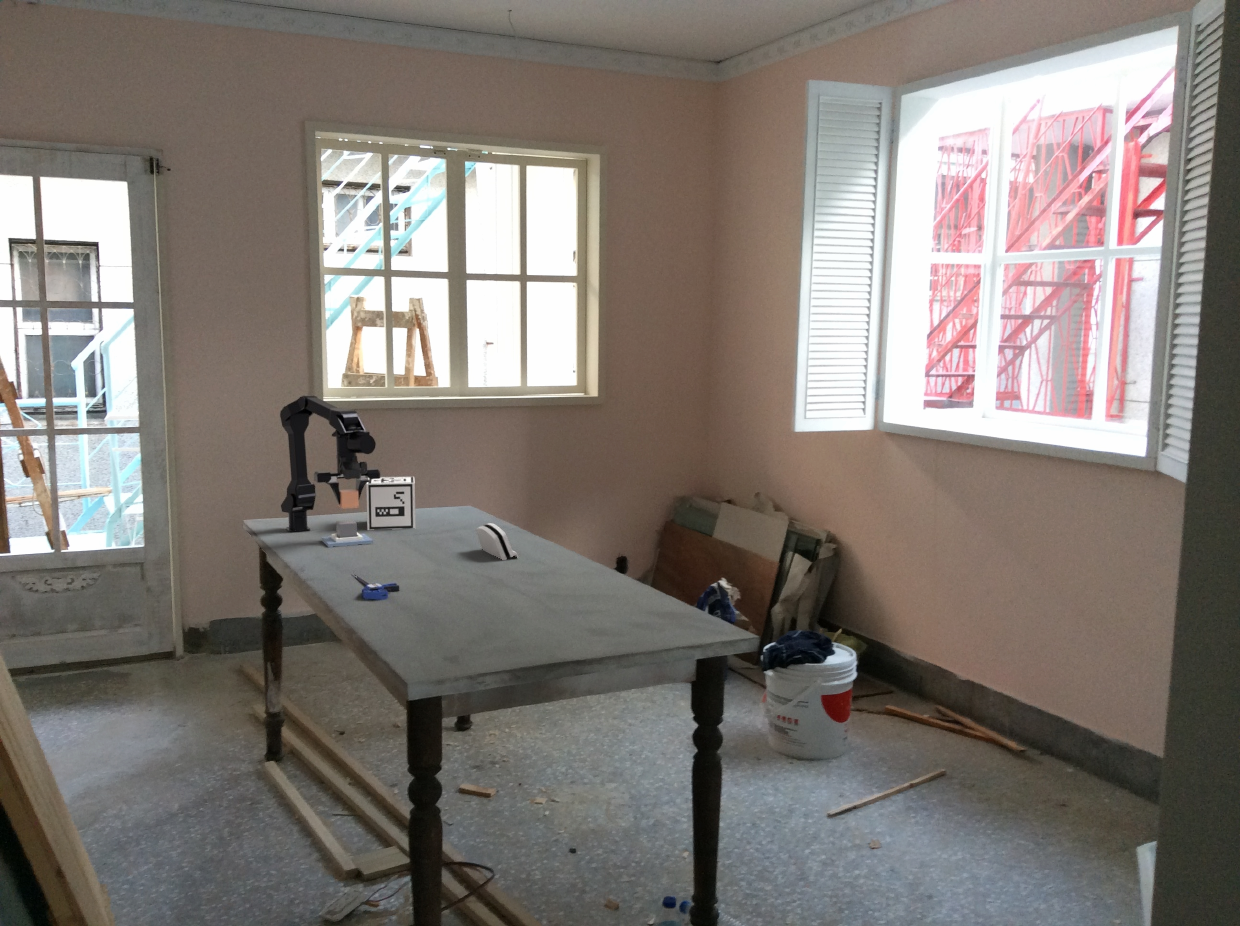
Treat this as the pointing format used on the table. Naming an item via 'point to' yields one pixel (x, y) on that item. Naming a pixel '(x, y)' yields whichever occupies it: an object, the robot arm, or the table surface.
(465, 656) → the table surface
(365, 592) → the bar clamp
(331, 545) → the board
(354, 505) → the terracotta cube
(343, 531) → the charcoal cube
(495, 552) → the striped white half-disc
